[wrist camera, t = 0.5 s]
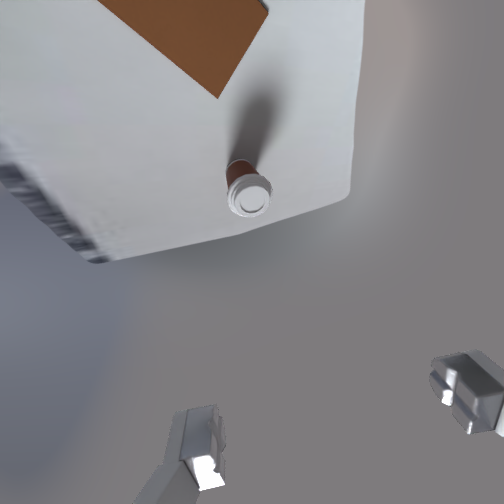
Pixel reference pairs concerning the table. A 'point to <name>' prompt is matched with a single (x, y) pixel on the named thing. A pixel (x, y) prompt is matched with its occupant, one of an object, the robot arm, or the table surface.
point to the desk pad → (196, 33)
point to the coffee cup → (247, 189)
